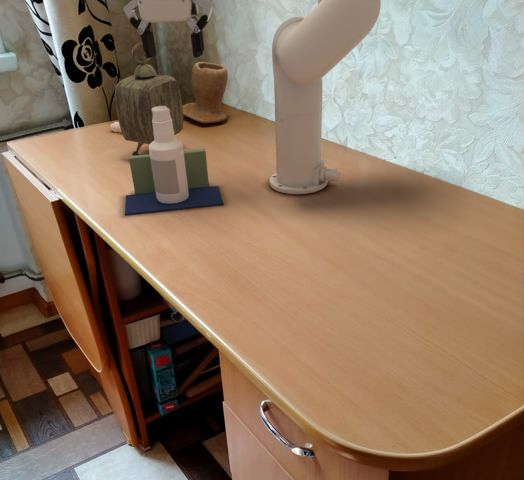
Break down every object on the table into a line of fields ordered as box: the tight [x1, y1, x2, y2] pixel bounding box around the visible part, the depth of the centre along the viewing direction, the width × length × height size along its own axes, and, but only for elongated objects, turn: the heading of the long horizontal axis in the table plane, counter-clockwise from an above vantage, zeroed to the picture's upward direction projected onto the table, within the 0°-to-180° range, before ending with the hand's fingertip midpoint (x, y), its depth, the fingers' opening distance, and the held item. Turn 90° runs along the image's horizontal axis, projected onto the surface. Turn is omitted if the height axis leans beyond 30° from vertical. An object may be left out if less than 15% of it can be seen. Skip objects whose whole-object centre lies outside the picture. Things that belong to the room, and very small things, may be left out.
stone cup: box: [182, 61, 229, 124], centre depth 162 cm, size 15×12×15 cm
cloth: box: [124, 185, 224, 216], centre depth 120 cm, size 10×20×1 cm, turn 100°
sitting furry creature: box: [109, 121, 122, 134], centre depth 158 cm, size 10×9×12 cm
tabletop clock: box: [114, 41, 184, 156], centre depth 137 cm, size 14×9×25 cm, turn 149°
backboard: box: [128, 148, 210, 194], centre depth 123 cm, size 2×16×8 cm, turn 100°
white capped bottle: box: [148, 106, 189, 204], centre depth 115 cm, size 7×7×18 cm
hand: (174, 56), depth 108 cm, fingers open, 9 cm apart
